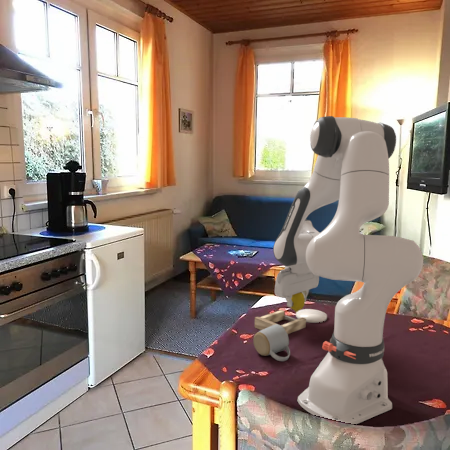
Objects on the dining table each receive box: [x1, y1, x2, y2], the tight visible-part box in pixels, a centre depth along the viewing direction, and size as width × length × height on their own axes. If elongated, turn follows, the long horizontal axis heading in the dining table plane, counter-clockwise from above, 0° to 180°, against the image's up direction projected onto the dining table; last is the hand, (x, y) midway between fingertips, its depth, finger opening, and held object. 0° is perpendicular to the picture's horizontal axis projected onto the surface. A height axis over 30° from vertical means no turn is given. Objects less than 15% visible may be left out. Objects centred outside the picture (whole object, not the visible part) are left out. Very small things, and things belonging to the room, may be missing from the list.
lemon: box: [290, 292, 306, 313], centre depth 148 cm, size 6×6×8 cm
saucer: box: [295, 308, 328, 324], centre depth 153 cm, size 11×11×1 cm
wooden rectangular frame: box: [254, 309, 307, 335], centre depth 143 cm, size 14×11×4 cm
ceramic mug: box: [253, 323, 291, 362], centre depth 123 cm, size 11×8×8 cm
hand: (296, 304), depth 148 cm, fingers closed on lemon, 6 cm apart
